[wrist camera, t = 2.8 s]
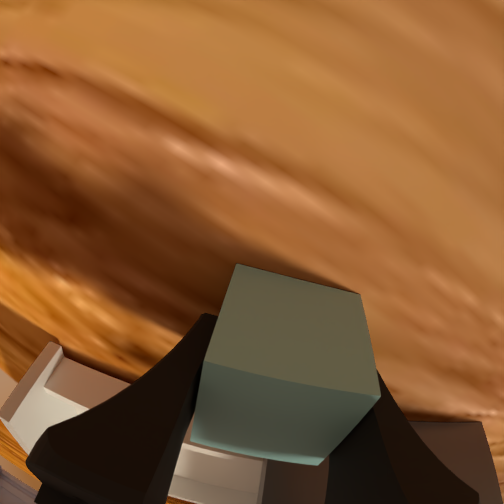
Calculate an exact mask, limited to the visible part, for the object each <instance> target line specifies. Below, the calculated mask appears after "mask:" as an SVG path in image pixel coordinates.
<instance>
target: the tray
mask: <svg viewBox="0 0 504 504" xmlns="http://www.w3.org/2000/svg"><path fill="white" fill-rule="evenodd" d="M129 385H131V384H129V383H127V382H124V381H121V380H119V379H116V378H113V377H111V376H108V375H106V374H103V373H101V372H98V371H96V370H94V369H91V368H89V367H86V366H84V365H82V364H79V363H77V362H75V361H73V360H70V359H68V358H66V357H64V354H63V351H62V347H61V346H60V345H58V344H56V343H54V342H52V341H50V342H49V343H48V344H47V345H46V347H45V348H44V349H43V351H42V352H41V353H40V355H39V356H38V357H37V359H36V360H35V361H34V363H33V364H32V365H31V367H30V368H29V369H28V371H27V372H26V374H25V375H24V376H23V378H22V379H21V380H20V382H19V383H18V385H17V386H16V388H15V389H14V390H13V392H12V393H11V395H10V396H9V398H8V399H7V401H6V402H5V404H4V405H3V407H2V408H1V410H0V419H1V421H2V422H3V423H4V425H5V426H6V427H7V429H8V430H9V431H10V433H11V434H12V435H13V437H14V438H15V439H16V441H17V442H18V443H19V444H20V446H21V447H22V448H23V449H24V450H25V452H26V453H27V454H28V455H29V454H30V452H31V450H32V448H33V447H34V445H35V443H36V441H37V440H38V439H39V438H40V436H41V435H42V434H43V432H44V431H45V430H46V429H47V428H48V427H50V426H52V425H55V424H57V423H60V422H62V421H65V420H67V419H70V418H72V417H75V416H77V415H79V414H81V413H83V412H85V411H87V410H89V409H91V408H93V407H95V406H97V405H99V404H100V403H102V402H104V401H106V400H108V399H109V398H111V397H113V396H114V395H116V394H117V393H119V392H120V391H122V390H123V389H125V388H126V387H128V386H129ZM194 414H195V412H194ZM193 419H194V415H193V417H192V420H191V422H190V424H189V427H188V429H187V432H186V435H185V437H184V440H183V443H182V447H181V450H180V454H179V457H178V461H177V464H176V468H175V471H174V475H173V478H172V482H171V485H170V489H169V492H168V496H171V497H174V498H178V499H181V500H185V501H189V502H193V503H197V504H257V497H258V490H259V484H260V477H261V470H262V462H263V458H261V457H255V456H250V455H245V454H240V453H236V452H231V451H227V450H222V449H218V448H214V447H210V446H206V445H202V444H198V443H195V442H191V441H190V437H191V431H192V425H193Z"/></svg>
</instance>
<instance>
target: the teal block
mask: <svg viewBox="0 0 504 504" xmlns="http://www.w3.org/2000/svg"><path fill="white" fill-rule="evenodd" d="M380 397H381V393H380V387H379V381H378V376H377V370H376V365H375V360H374V355H373V350H372V345H371V340H370V335H369V330H368V326H367V321H366V317H365V313H364V308H363V304H362V300H361V296H360V294H356V293H352V292H348V291H344V290H340V289H336V288H332V287H328V286H324V285H320V284H316V283H312V282H308V281H304V280H300V279H296V278H292V277H288V276H284V275H280V274H276V273H272V272H268V271H265V270H261V269H257V268H253V267H249V266H245V265H241V264H237V263H236V266H235V269H234V272H233V275H232V278H231V281H230V284H229V287H228V290H227V293H226V296H225V299H224V302H223V305H222V308H221V311H220V314H219V317H218V320H217V322H216V325H215V328H214V331H213V334H212V337H211V340H210V344H209V347H208V350H207V353H206V356H205V359H204V362H203V368H202V374H201V379H200V385H199V390H198V396H197V402H196V408H195V414H194V419H193V425H192V431H191V437H190V441H191V442H195V443H198V444H202V445H206V446H210V447H214V448H218V449H222V450H227V451H231V452H236V453H240V454H245V455H250V456H255V457H261V458H266V459H272V460H278V461H285V462H292V463H300V464H308V465H317V466H318V465H319V464H320V463H321V462H322V461H323V460H324V459H325V458H326V457H327V456H328V455H329V454H330V453H331V452H332V451H333V450H334V449H335V448H336V447H337V446H338V445H339V444H340V443H341V441H342V440H343V439H344V438H345V437H346V436H347V435H348V434H349V433H350V432H351V431H352V430H353V428H354V427H355V426H356V425H357V424H358V423H359V422H360V421H361V419H362V418H363V417H364V416H365V415H366V414H367V412H368V411H369V410H370V409H371V408H372V407H373V405H374V404H375V403H376V402H377V400H378V399H379V398H380Z"/></svg>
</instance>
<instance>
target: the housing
mask: <svg viewBox="0 0 504 504" xmlns="http://www.w3.org/2000/svg"><path fill="white" fill-rule="evenodd" d="M408 422H409V423H410V425H411V426H412V428H413V429H414V430H415V432H416V433H417V434H418V435H419V437H420V438H421V439H422V441H423V442H424V443H425V444H426V445H427V447H428V448H429V449H430V450H431V451H432V452H433V453H434V454H435V455H436V457H437V458H438V459H439V460H440V461H441V462H442V463H443V464H444V465H445V466H446V467H447V468H448V469H449V470H451V471H452V472H453V473H454V474H455V475H456V476H457V477H458V478H460V479H461V480H462V481H463V482H465V483H466V484H467V485H469V486H470V487H471V488H473V489H474V490H475V491H477V492H478V493H479V497H480V503H481V504H503V501H502V496H501V492H500V487H499V483H498V478H497V474H496V470H495V466H494V463H493V459H492V455H491V452H490V448H489V445H488V441H487V438H486V435H485V431H484V428H483V425H482V422H418V421H408ZM328 472H329V455H328V456H327V457H326V458H325V459H324V460H323V461H322V462H321V463H320V464H319V465H318V466H317V465H308V464H300V463H292V462H285V461H278V460H272V459H266V458H263V462H262V470H261V477H260V484H259V490H258V497H257V504H324V503H325V497H326V490H327V481H328Z"/></svg>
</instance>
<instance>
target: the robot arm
mask: <svg viewBox="0 0 504 504" xmlns="http://www.w3.org/2000/svg"><path fill="white" fill-rule="evenodd" d="M218 317H219V316H215V315H211V314H208V313H204V314H201V316H200V317H199V319H198V320H197V322H196V323H195V324H194V326H193V327H192V328H191V329H190V331H189V332H188V333H187V334H186V335H185V336H184V337H183V339H182V340H181V341H180V342H179V343H178V344H177V345H176V346H175V347H174V348H173V349H172V350H171V351H170V352H169V353H168V354H167V355H166V356H165V357H164V358H163V359H161V360H160V361H159V362H158V363H157V364H156V365H155V366H154V367H153V368H151V369H150V370H149V371H148V372H147V373H145V374H144V375H143V376H141V377H140V378H139V379H138V380H136V381H135V382H133V383H132V384H131V385H129V386H128V387H126V388H125V389H123V390H122V391H120V392H119V393H117V394H116V395H114V396H113V397H111V398H109V399H108V400H106V401H104V402H102V403H100V404H99V405H97V406H95V407H93V408H91V409H89V410H87V411H85V412H83V413H81V414H79V415H77V416H75V417H72V418H70V419H67V420H65V421H62V422H60V423H57V424H55V425H52V426H50V427H48V428H47V429H46V430H45V431H44V432H43V434H42V435H41V436H40V438H39V439H38V440H37V441H36V443H35V445H34V447H33V448H32V450H31V452H30V454H29V456H28V458H27V459H26V466H27V468H28V469H29V470H30V471H31V472H32V473H33V474H34V475H35V476H36V477H37V478H38V479H39V480H40V481H41V482H42V485H41V487H40V489H39V491H36V490H35V489H33V488H31V487H30V486H28V485H27V484H25V483H23V482H22V481H20V480H19V479H17V478H16V477H14V476H12V475H11V474H10V473H8V472H7V471H5V470H4V469H2V467H1V466H0V504H165V503H166V500H167V496H168V492H169V489H170V485H171V482H172V478H173V475H174V471H175V468H176V464H177V461H178V457H179V454H180V450H181V447H182V443H183V440H184V437H185V435H186V432H187V429H188V427H189V424H190V422H191V420H192V417H193V415H194V412H195V408H196V402H197V396H198V390H199V385H200V379H201V374H202V368H203V362H204V359H205V356H206V353H207V350H208V347H209V344H210V340H211V337H212V334H213V331H214V328H215V325H216V322H217V320H218ZM376 370H377V369H376ZM377 376H378V381H379V387H380V393H381V397H380V398H379V399H378V400H377V402H376V403H375V404H374V405H373V407H372V408H371V409H370V410H369V411H368V412H367V414H366V415H365V416H364V417H363V418H362V419H361V421H360V422H359V423H358V424H357V425H356V426H355V427H354V428H353V430H352V431H351V432H350V433H349V434H348V435H347V436H346V437H345V438H344V439H343V440H342V441H341V443H340V444H339V445H338V446H337V447H336V448H335V449H334V450H333V451H332V452H331V453H330V454H329V472H328V481H327V490H326V497H325V503H324V504H481V503H480V497H479V493H478V492H477V491H475V490H474V489H473V488H471V487H470V486H469V485H467V484H466V483H465V482H463V481H462V480H461V479H460V478H458V477H457V476H456V475H455V474H454V473H453V472H452V471H451V470H449V469H448V468H447V467H446V466H445V465H444V464H443V463H442V462H441V461H440V460H439V459H438V458H437V457H436V455H435V454H434V453H433V452H432V451H431V450H430V449H429V448H428V447H427V445H426V444H425V443H424V442H423V441H422V439H421V438H420V437H419V435H418V434H417V433H416V432H415V430H414V429H413V428H412V426H411V425H410V423H409V422H408V421H407V419H406V417H405V416H404V414H403V413H402V411H401V410H400V408H399V407H398V405H397V404H396V402H395V400H394V399H393V397H392V395H391V394H390V392H389V390H388V388H387V387H386V385H385V383H384V381H383V380H382V378H381V376H380V374H379V372H378V371H377Z"/></svg>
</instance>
